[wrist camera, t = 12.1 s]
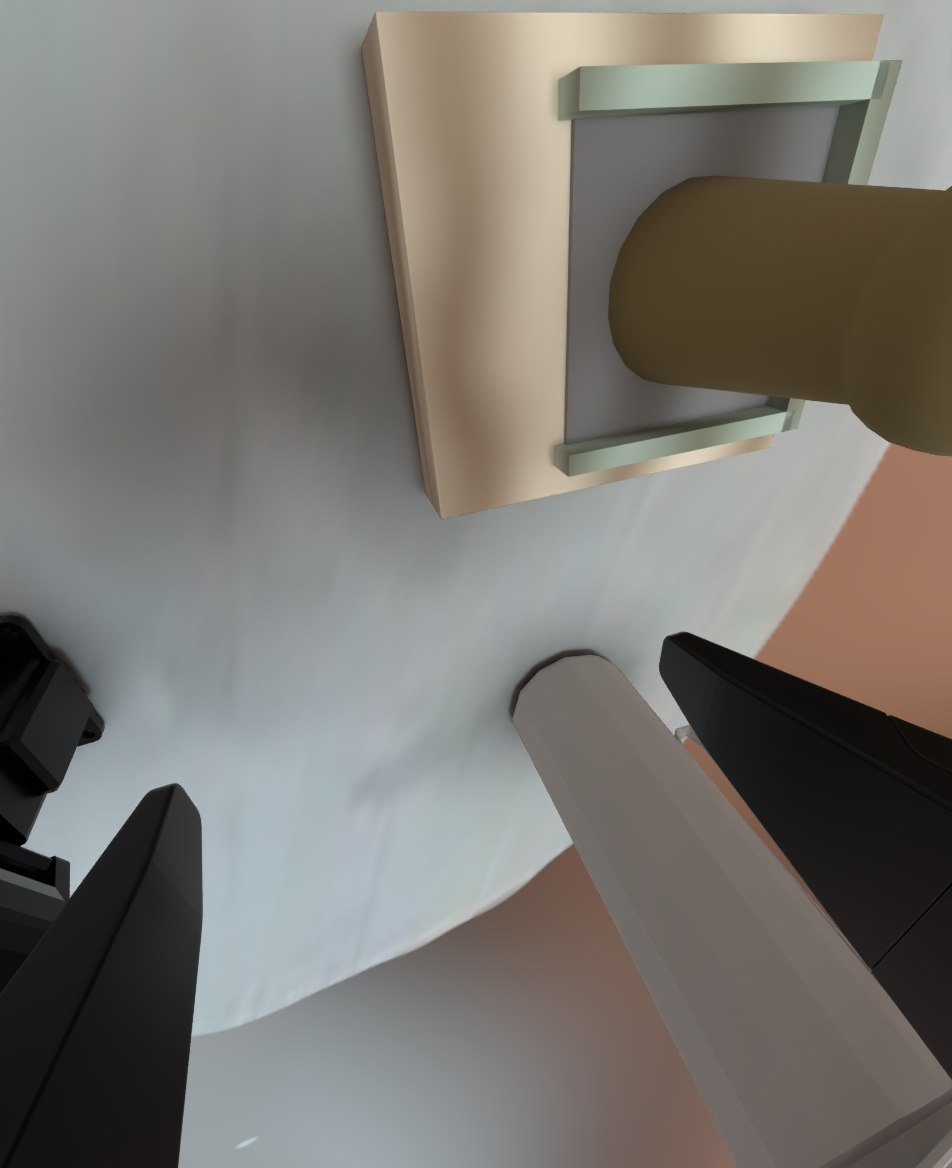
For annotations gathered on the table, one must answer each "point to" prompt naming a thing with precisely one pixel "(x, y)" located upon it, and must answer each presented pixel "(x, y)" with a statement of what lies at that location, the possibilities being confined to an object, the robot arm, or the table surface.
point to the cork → (796, 298)
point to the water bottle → (731, 942)
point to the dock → (583, 219)
